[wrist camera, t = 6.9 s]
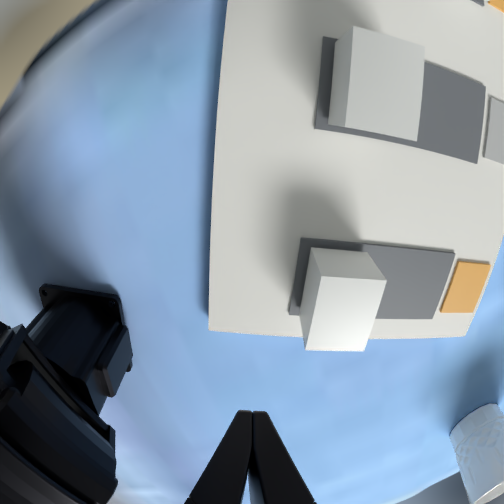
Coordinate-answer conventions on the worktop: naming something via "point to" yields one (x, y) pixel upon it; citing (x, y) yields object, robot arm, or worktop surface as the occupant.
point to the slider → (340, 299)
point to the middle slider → (377, 83)
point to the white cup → (481, 453)
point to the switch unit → (356, 166)
